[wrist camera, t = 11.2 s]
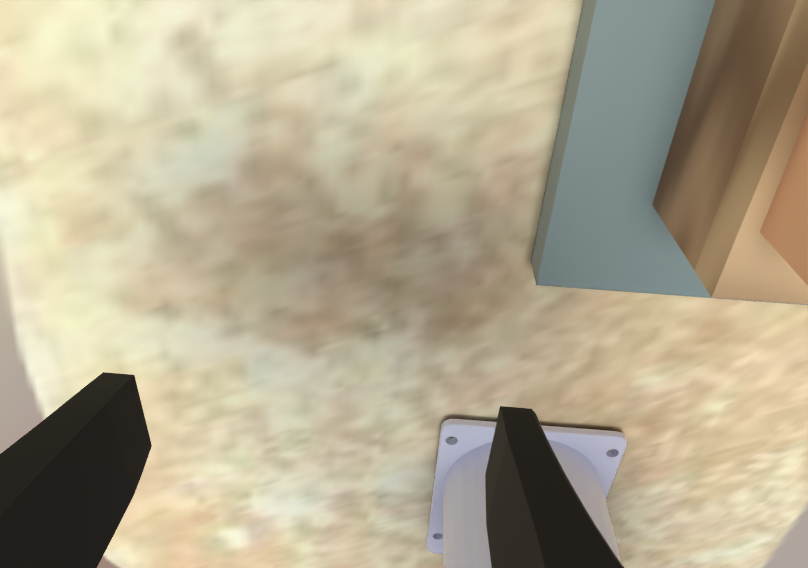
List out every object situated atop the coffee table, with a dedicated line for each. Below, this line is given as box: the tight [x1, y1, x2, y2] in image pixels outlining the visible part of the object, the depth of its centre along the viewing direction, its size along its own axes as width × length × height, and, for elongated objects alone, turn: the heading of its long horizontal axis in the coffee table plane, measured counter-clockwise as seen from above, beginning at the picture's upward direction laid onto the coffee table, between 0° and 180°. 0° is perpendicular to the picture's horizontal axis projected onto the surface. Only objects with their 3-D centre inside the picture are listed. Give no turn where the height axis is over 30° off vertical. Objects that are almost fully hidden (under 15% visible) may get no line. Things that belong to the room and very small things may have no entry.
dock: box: [531, 0, 808, 305], centre depth 17 cm, size 14×11×3 cm
